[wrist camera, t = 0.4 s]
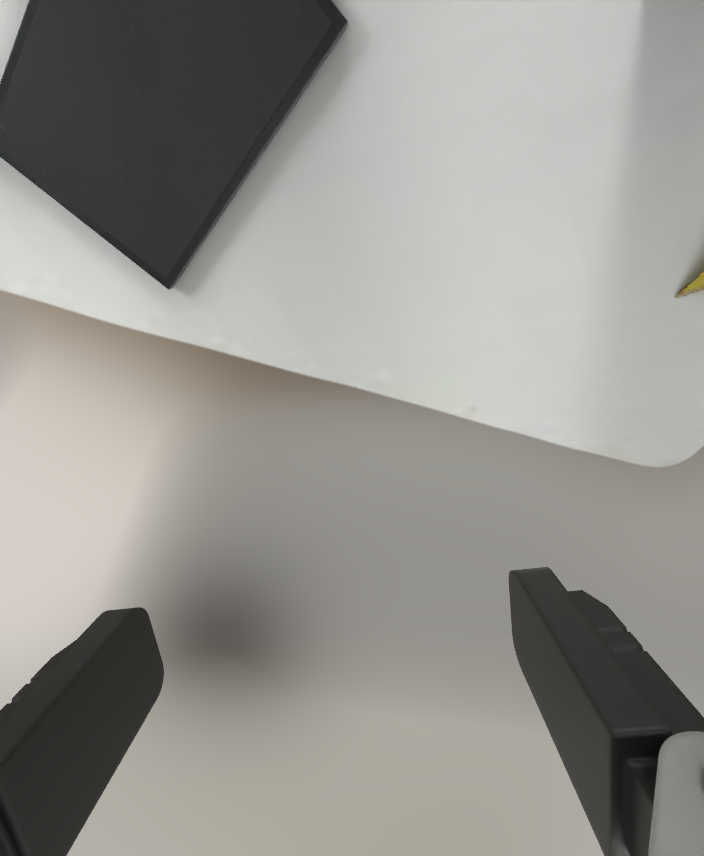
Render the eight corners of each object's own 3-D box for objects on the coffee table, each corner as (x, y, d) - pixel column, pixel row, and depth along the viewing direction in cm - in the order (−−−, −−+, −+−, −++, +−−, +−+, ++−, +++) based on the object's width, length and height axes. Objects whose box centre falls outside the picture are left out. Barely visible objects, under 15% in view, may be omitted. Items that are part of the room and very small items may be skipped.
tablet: (-11, 141, 30) (-22, 140, 29) (130, -247, 21) (120, -265, 20) (173, 287, 35) (168, 290, 34) (348, 25, 26) (347, 20, 25)
